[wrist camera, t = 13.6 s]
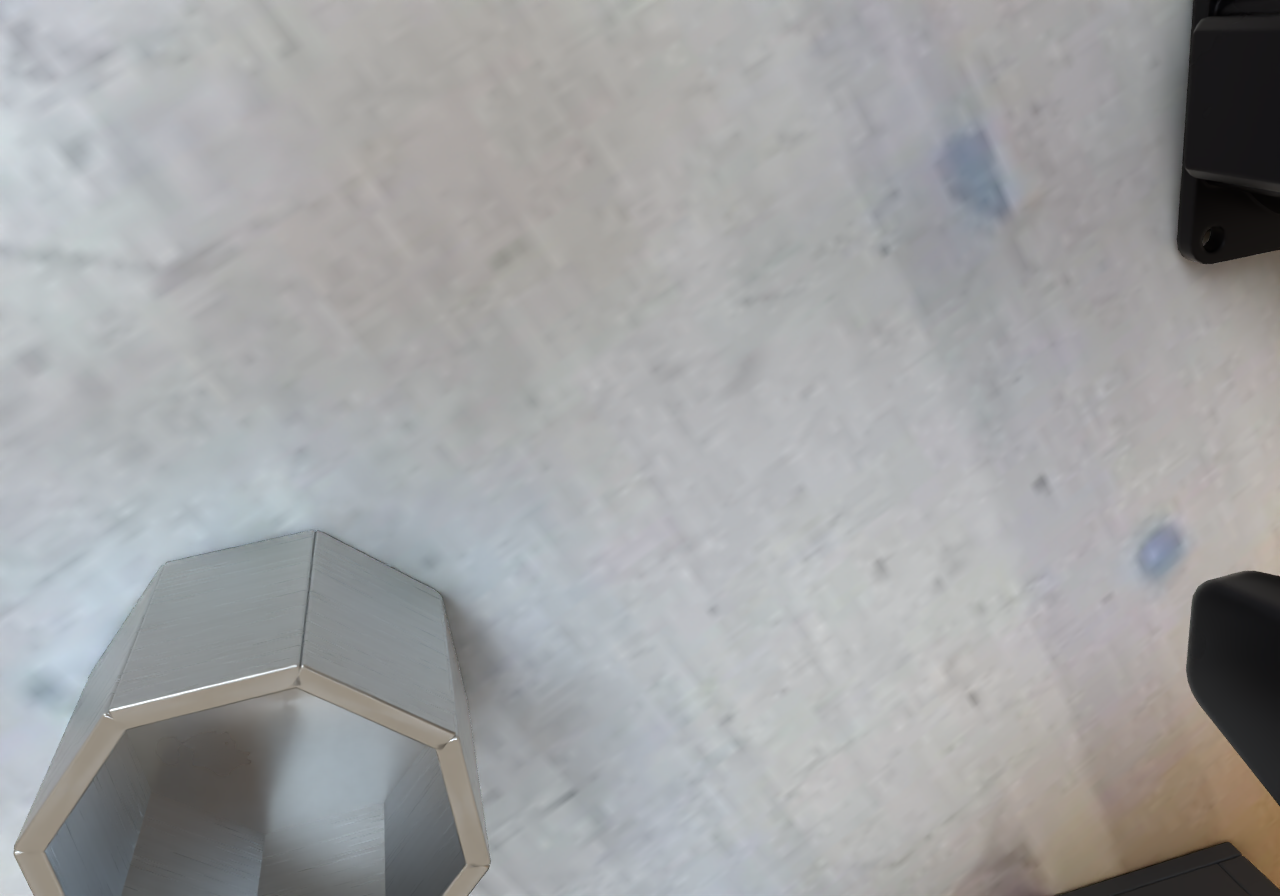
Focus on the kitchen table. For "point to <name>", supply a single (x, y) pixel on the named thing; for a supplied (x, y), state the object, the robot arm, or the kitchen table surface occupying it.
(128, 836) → the octagonal metal cup
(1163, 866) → the dark grey tray
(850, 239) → the kitchen table surface
